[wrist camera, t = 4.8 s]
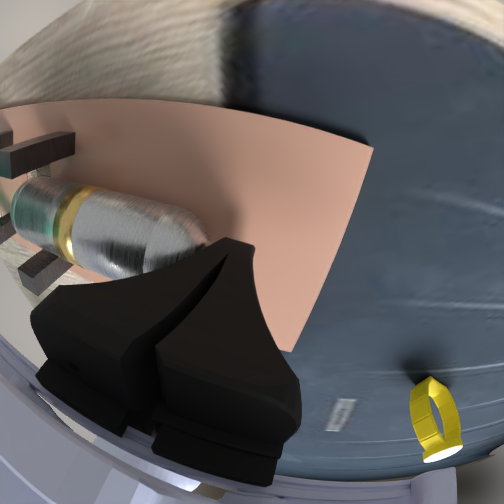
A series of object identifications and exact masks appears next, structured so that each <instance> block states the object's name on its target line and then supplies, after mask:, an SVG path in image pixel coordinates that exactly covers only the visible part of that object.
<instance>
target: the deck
mask: <svg viewBox="0 0 504 504" xmlns="http://www.w3.org/2000/svg"><path fill="white" fill-rule="evenodd" d="M4 131H13V145H14V144H17V143H20V142H23V141H26V140H29V139H32V138H36V137H39V136H42V135H46V134H49V133H53V132H57V131H65V132H76V134H75V155H72V156H69V157H66V158H63V159H60V160H58V161H55V162H52V163H50V177H51V178H56V179H60V180H65V181H70V182H75V183H80V184H88V185H93V186H98V187H102V188H107V189H110V190H112V191H116V192H121V193H125V194H129V195H134V196H138V197H142V198H147V199H151V200H155V201H159V202H163V203H168V204H172V205H176V206H179V207H181V208H184V209H187V210H188V211H190V212H192V213H193V214H195V215H196V216H197V217H198V218H199V219H200V220H201V222H202V223H203V225H204V226H205V228H206V229H207V231H208V234H209V237H210V240H211V244H213V243H214V242H216V241H218V240H220V239H222V238H224V237H228V238H231V239H235V240H238V241H241V242H245V243H248V244H252V245H254V247H255V248H256V249H255V253H254V257H253V271H254V280H255V286H256V291H257V296H258V300H259V303H260V307H261V310H262V313H263V316H264V318H265V321H266V324H267V326H268V328H269V330H270V332H271V334H272V336H273V339H274V341H275V343H276V345H277V347H278V348H279V349H280V350H284V351H288V352H291V351H292V349H293V347H294V345H295V343H296V341H297V339H298V337H299V335H300V333H301V331H302V329H303V327H304V325H305V323H306V321H307V319H308V317H309V314H310V312H311V310H312V308H313V306H314V304H315V301H316V299H317V297H318V295H319V292H320V290H321V288H322V286H323V283H324V281H325V279H326V276H327V274H328V272H329V269H330V267H331V265H332V262H333V260H334V257H335V255H336V252H337V250H338V248H339V245H340V242H341V240H342V237H343V235H344V232H345V230H346V227H347V224H348V222H349V219H350V216H351V214H352V211H353V208H354V205H355V203H356V200H357V197H358V194H359V191H360V188H361V186H362V183H363V180H364V177H365V174H366V171H367V167H368V164H369V161H370V158H371V155H372V152H373V147H371V146H369V145H366V144H363V143H360V142H357V141H355V140H352V139H349V138H346V137H343V136H340V135H337V134H333V133H330V132H327V131H324V130H320V129H317V128H313V127H310V126H306V125H303V124H299V123H295V122H291V121H287V120H283V119H279V118H275V117H270V116H266V115H261V114H256V113H251V112H246V111H241V110H235V109H229V108H223V107H216V106H210V105H202V104H194V103H185V102H175V101H163V100H148V99H78V100H63V101H52V102H43V103H35V104H28V105H21V106H15V107H10V108H5V109H0V133H1V132H4ZM26 180H27V173H25V174H23V175H21V176H19V177H16V178H14V179H12V180H11V179H8V178H4V177H1V176H0V212H1V217H2V216H4V215H6V214H7V213H9V212H10V207H11V202H12V199H13V196H14V194H15V192H16V190H17V189H18V188H19V187H20V185H21V184H23V183H24V182H25V181H26ZM10 238H11V239H13V240H15V241H16V242H18V243H20V244H21V245H23V246H25V247H27V248H28V249H30V250H32V251H34V252H36V253H38V252H39V251H41V250H42V248H40V247H38V246H36V245H34V244H32V243H30V242H28V241H26V240H25V239H23V238H22V237H21V236H19V234H18V233H16V234H15V235H13V236H12V237H10ZM68 270H70V271H72V272H74V273H76V274H78V275H80V276H82V277H84V278H86V279H89V280H91V281H93V282H95V283H99V282H106V281H112V279H110V278H107V277H105V276H102V275H100V274H98V273H95V272H93V271H90V270H88V269H84V268H81V267H79V266H77V265H75V264H74V265H73V266H72V267H71V268H70V269H68Z"/></svg>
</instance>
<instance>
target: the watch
mask: <svg viewBox="0 0 504 504" xmlns="http://www.w3.org/2000/svg"><path fill="white" fill-rule="evenodd" d="M428 396H430V397H432V398H433V400H434V402H435V404H436V405H437V407H438V408H439V412H440V415H441V418H442V421H443V427H444V435H445V436H444V437H443V436H442V434H441V433H440V431H439V429H438V427H437V424H436V422H435V419H434V417H433V414H432V410H431V405H430V400H429V397H428ZM409 405H410V413H411V419H412V423H413V427H414V430H415V432H416V435H417V438H418V440H419V441H420V444H421V445H422V446H423V448H424V449H425V451H424V452H423V461H424V462H433V461H437V460H440V459H443V458H445V457H448V456H450V455H452V454H454V453H456V452H457V451H459V450H460V449H461V448H462V446H463V443H462V439H461V438H460V436H461V425H460V419H459V414H458V411H457V408H456V405H455V402H454V400H453V397H452V396H451V394H450V392H449V390H448V389H447V387H446V386H444V385H442V384H441V383H439V382H438V381H437V380H435V379H434V378H433V377H432V376H429V377H428V378H426V379H425V380H423V381H422V382H420V383H418V384H417V385H416V386H415V387H414V388H413V389H412V391H411V395H410V404H409Z"/></svg>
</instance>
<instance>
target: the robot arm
mask: <svg viewBox="0 0 504 504" xmlns="http://www.w3.org/2000/svg"><path fill="white" fill-rule="evenodd" d="M255 249H256V248H255V247H254V245H252V244H248V243H245V242H241V241H238V240H235V239H231V238H228V237H224V238H222V239H220V240H218V241H216V242H214V243H213V244H211V245H209V246H207V247H205V248H204V249H202V250H200V251H198V252H196V253H194V254H192V255H190V256H188V257H186V258H183V259H181V260H179V261H177V262H175V263H172V264H170V265H167V266H165V267H162V268H159V269H156V270H153V271H150V272H147V273H143V274H139V275H135V276H131V277H127V278H123V279H118V280H112V281H106V282H99V283H91V284H77V285H59V286H58V287H57V288H56V289H55V290H53V291H52V292H51V293H50V294H49V295H48V296H47V297H46V298H45V299H44V300H43V301H42V302H41V303H40V304H39V305H38V306H37V307H36V308H35V309H34V310H32V312H31V315H30V321H31V326H32V329H33V331H34V334H35V335H36V337H37V340H38V341H39V343H40V345H41V347H42V349H43V351H44V353H45V355H46V356H47V358H48V360H47V361H46V362H45V363H44V364H43V366H42V367H41V368H40V369H39V368H38V367H36V366H35V365H34V364H33V363H31V362H30V361H29V360H28V359H27V358H26V357H24V356H23V355H22V354H21V353H20V352H19V351H18V350H17V349H15V348H14V347H13V346H12V345H11V344H10V343H9V342H8V341H7V340H6V339H5V338H4V337H3V336H2V335H1V334H0V504H457V487H456V486H457V485H456V469H455V467H451V468H445V469H439V470H433V471H429V472H426V473H423V474H421V475H418V476H416V477H414V478H413V479H412V480H402V481H389V482H333V481H319V480H309V479H300V478H293V477H286V476H280V475H274V474H275V470H276V465H277V460H278V459H280V457H281V455H282V450H283V445H284V443H285V442H286V441H287V440H288V439H289V438H290V437H292V436H293V435H294V434H295V433H296V432H297V430H298V429H299V427H300V425H301V418H302V402H301V392H300V384H299V379H298V378H297V377H296V375H295V374H294V372H293V371H292V369H291V368H290V366H289V365H288V363H287V362H286V360H285V359H284V357H283V355H282V354H281V352H280V350H279V348H278V347H277V345H276V343H275V341H274V339H273V336H272V334H271V332H270V330H269V328H268V326H267V324H266V321H265V318H264V316H263V313H262V310H261V307H260V303H259V300H258V296H257V291H256V286H255V280H254V271H253V257H254V253H255ZM36 392H37V393H38V394H39V395H40V396H41V397H43V398H44V399H45V400H47V401H48V402H49V403H50V404H52V405H53V406H54V407H56V408H57V409H58V410H60V411H61V412H62V413H64V414H65V415H67V416H68V417H69V418H71V419H72V420H74V421H75V422H77V423H78V424H80V425H81V426H83V427H85V428H86V429H88V430H89V431H91V432H92V433H94V434H96V435H97V437H96V438H95V440H94V442H93V444H92V443H90V442H89V441H87V440H86V439H84V438H82V437H81V436H79V435H78V434H76V433H75V432H73V430H72V429H71V428H70V427H69V426H67V425H66V424H65V423H64V422H63V421H62V420H61V419H60V418H59V417H58V416H57V415H56V413H55V412H54V411H53V409H52V408H51V407H50V405H48V404H47V403H46V402H45V401H44V400H43V399H42V398H41V397H40V396H39V395H38V394H37V393H36ZM201 482H203V483H206V484H209V485H213V486H216V487H220V488H223V489H227V490H231V491H236V492H240V493H235V492H226V493H225V494H224V497H222V498H219V499H218V501H217V500H214V499H210V498H207V497H204V496H201V495H198V494H195V493H192V492H191V491H193V490H194V489H195V488H196V487H197V486H198V485H199V484H200V483H201ZM242 493H244V494H242Z"/></svg>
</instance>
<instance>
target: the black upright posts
mask: <svg viewBox="0 0 504 504" xmlns="http://www.w3.org/2000/svg"><path fill="white" fill-rule="evenodd" d="M75 134H76V132H65V131H57V132H53V133H49V134H46V135H42V136H39V137H36V138H32V139H29V140H26V141H23V142H20V143H17V144H14V145H13V131H4V132H1V133H0V176H1V177H4V178H8V179H11V180H12V179H14V178H16V177H19V176H21V175H23V174H25V173H28V172H30V171H32V170H35V169H37V168H40V167H42V166H45V165H47V164H50V163H52V162H55V161H58V160H60V159H63V158H66V157H69V156H72V155H75ZM16 233H17V232H16V230H15V229H14V227H13V225H12V221H11V214H10V212H9V213H7V214H6V215H4V216H2V217H1V218H0V244H2V243H3V242H4V241H6V240H7V239H9V238H10V237H12V236H13V235H15V234H16ZM73 265H74V264H72V263H70V262H68V261H66V260H64V259H62V258H61V257H59V256H57V255H55V254H53V253H51V252H48V251H46V250H44V249H42V250H41V251H39V252H38V253H37V254H35V255H34V256H33V257H31V258H30V259H29V260H27V261H26V262H25V263H24V264H22V265H21V266H20V267H19V268H17V269H18V272H19V275H20V278H21V281H22V284H23V286H24V287H26V288H27V289H28V290H30V291H31V292H33V293H34V294H36V295H37V296H39V295H40V294H41V293H42V292H43V291H44V290H46V289H47V288H48V287H49V286H50V285H51V284H52V283H53V282H54V281H56V280H57V279H58V278H59V277H60V276H61V275H63V274H64V273H65V272H66V271H67V270H68V269H70V268H71V267H72V266H73Z"/></svg>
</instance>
